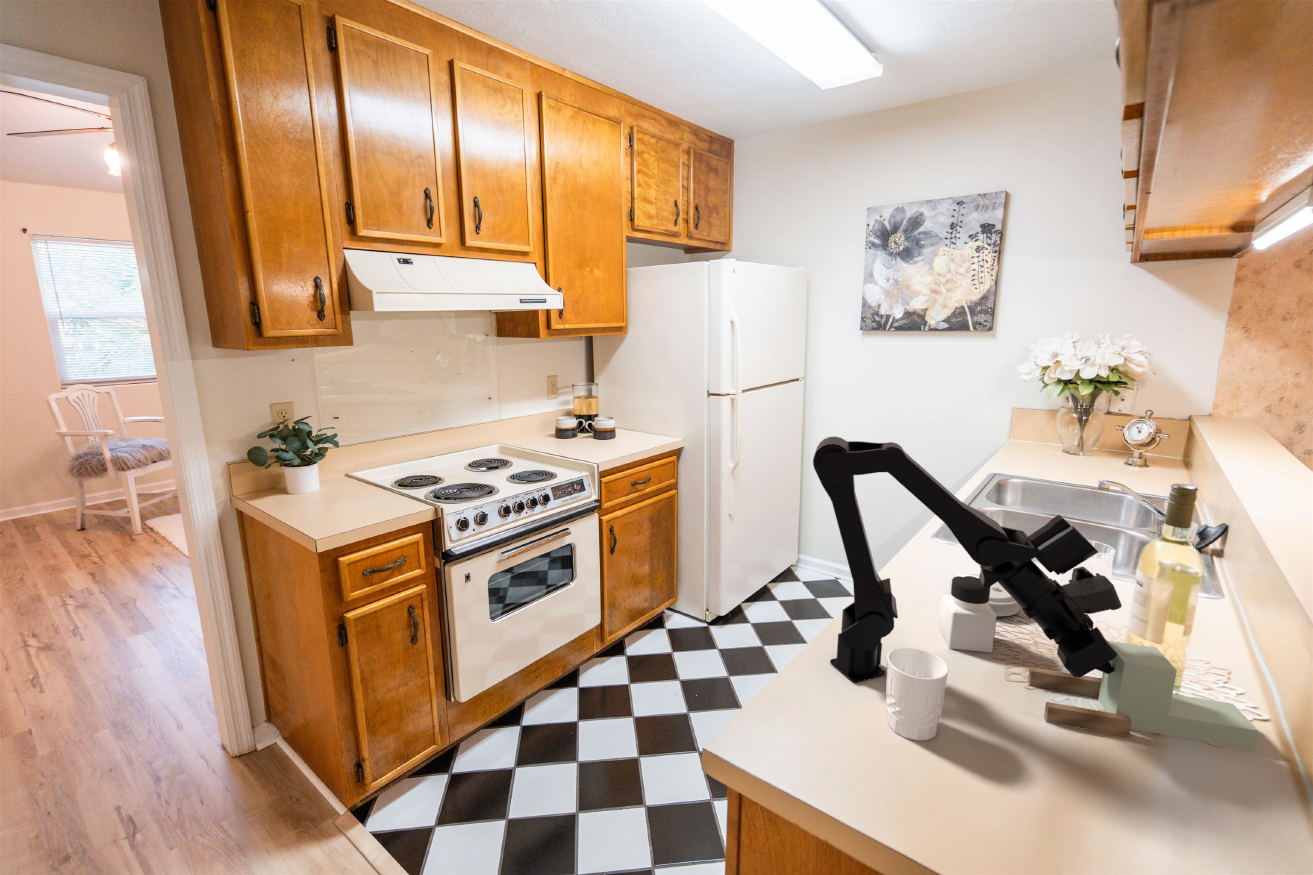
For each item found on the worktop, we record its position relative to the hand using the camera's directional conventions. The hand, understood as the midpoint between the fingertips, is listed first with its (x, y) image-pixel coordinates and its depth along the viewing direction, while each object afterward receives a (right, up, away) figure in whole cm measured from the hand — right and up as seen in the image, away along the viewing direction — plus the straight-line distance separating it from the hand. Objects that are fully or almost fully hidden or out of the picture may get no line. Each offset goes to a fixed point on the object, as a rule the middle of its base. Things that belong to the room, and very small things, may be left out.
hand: (1110, 671), depth 87 cm
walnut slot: (-3, -6, +3) cm, 8 cm away
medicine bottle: (-11, -3, +21) cm, 23 cm away
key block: (+8, -7, -1) cm, 11 cm away
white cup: (-30, -7, -1) cm, 31 cm away
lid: (0, 0, +34) cm, 34 cm away
